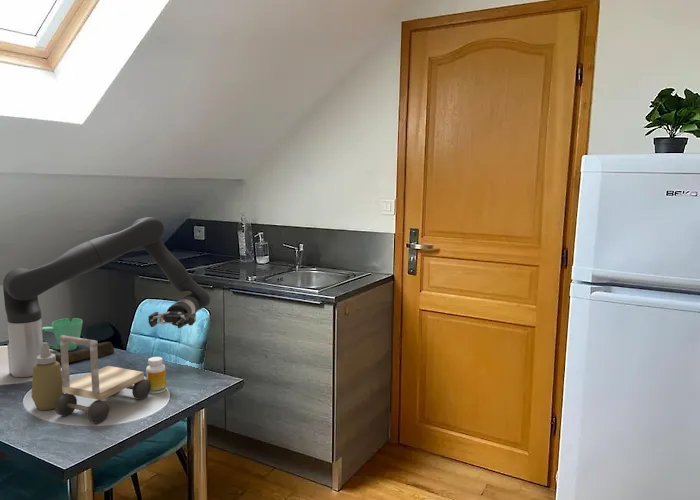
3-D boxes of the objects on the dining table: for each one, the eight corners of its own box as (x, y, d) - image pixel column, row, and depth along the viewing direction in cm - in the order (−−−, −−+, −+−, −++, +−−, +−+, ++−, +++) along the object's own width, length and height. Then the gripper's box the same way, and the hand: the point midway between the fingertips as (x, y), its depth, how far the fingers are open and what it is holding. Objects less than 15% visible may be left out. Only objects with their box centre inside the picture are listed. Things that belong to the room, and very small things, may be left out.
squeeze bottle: (42, 415, 148) (38, 349, 146) (26, 408, 153) (21, 344, 150) (71, 404, 155) (68, 341, 152) (55, 397, 159) (51, 336, 157)
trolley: (55, 418, 147) (49, 337, 144) (116, 388, 167) (112, 317, 164) (93, 427, 142) (89, 344, 139) (151, 395, 162) (148, 322, 159)
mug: (77, 342, 208) (76, 316, 206) (88, 348, 201) (86, 321, 200) (34, 351, 197) (32, 324, 196) (44, 358, 191) (42, 330, 189)
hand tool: (58, 368, 183) (58, 354, 182) (54, 364, 186) (53, 351, 185) (116, 355, 196) (116, 342, 195) (112, 352, 199) (111, 339, 198)
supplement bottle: (169, 390, 166) (168, 359, 164) (151, 395, 162) (150, 363, 161) (161, 385, 170) (160, 354, 168) (143, 389, 166) (142, 358, 165)
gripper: (160, 300, 192) (142, 312, 176) (202, 302, 191) (187, 313, 175) (160, 321, 193) (142, 335, 177) (202, 323, 192) (187, 337, 176)
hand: (165, 324), depth 176 cm, fingers open, 8 cm apart
